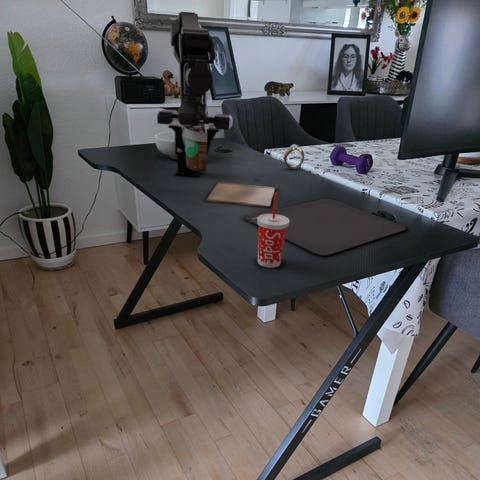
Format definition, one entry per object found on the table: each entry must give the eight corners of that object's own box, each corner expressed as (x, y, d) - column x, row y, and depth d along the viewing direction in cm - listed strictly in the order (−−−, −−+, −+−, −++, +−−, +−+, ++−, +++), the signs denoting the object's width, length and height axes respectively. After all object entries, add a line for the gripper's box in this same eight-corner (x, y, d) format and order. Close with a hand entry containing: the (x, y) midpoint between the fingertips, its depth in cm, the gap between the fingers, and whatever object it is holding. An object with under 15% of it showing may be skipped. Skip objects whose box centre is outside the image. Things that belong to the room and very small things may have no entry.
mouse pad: (327, 198, 127) (328, 197, 127) (409, 228, 110) (409, 228, 110) (241, 217, 110) (241, 216, 110) (322, 257, 93) (322, 256, 92)
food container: (181, 158, 126) (181, 120, 120) (203, 159, 126) (204, 121, 121) (182, 173, 116) (182, 132, 110) (206, 173, 117) (207, 133, 111)
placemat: (206, 201, 119) (206, 199, 119) (218, 183, 134) (218, 181, 133) (269, 207, 118) (269, 205, 118) (274, 189, 132) (275, 187, 132)
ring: (284, 170, 151) (286, 145, 147) (281, 167, 154) (284, 143, 149) (303, 170, 152) (307, 146, 148) (301, 168, 155) (304, 143, 151)
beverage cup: (249, 264, 88) (254, 194, 80) (260, 253, 93) (266, 186, 85) (278, 271, 86) (286, 200, 79) (288, 260, 91) (297, 191, 83)
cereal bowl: (146, 158, 154) (145, 136, 151) (171, 149, 167) (170, 129, 164) (190, 165, 149) (190, 143, 145) (212, 156, 162) (212, 135, 159)
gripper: (148, 89, 105) (151, 157, 114) (226, 95, 104) (224, 164, 112) (162, 85, 115) (164, 148, 123) (234, 90, 113) (231, 155, 121)
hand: (195, 154), depth 120 cm, fingers closed on food container, 6 cm apart
